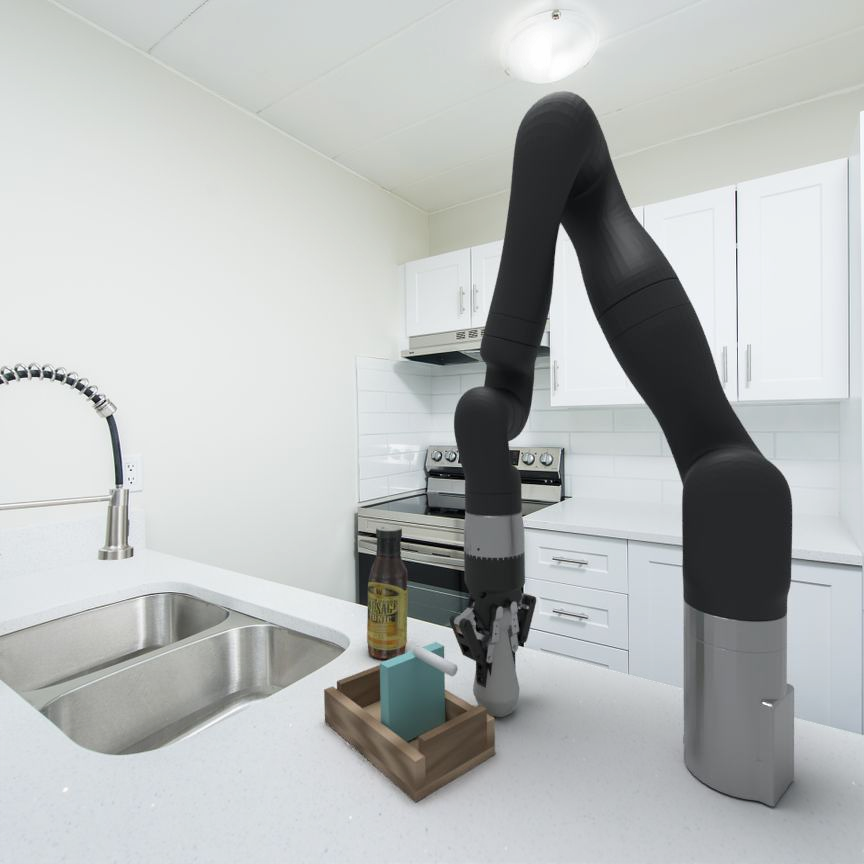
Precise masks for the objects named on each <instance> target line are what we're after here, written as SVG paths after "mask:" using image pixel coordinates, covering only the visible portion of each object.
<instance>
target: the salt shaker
mask: <svg viewBox="0 0 864 864" xmlns="http://www.w3.org/2000/svg"><path fill="white" fill-rule="evenodd" d="M511 623H512V615H511V612H510V611H509V609H507V608H505V607H504V608H503V617H502V619H501V620H499V621H498V624H499V628H500V631H499V641H498V642H497V643H496V644H495V650H494V659H493V661H492V662H493V663H492V671H491V677H490V673H489V669H488V673H487V679H486V680H487V682H486V688H485V687H482V686H480V685H478V684H477V682H476V672H475V675H474V679H473V680H474V681H473V687H472V693H473V696H474V697H475V701H476V702H477V705H478V706H479V705H481V706H483V707H485V708H486V709H487V714H488V715H490V716H492V717H497V718H498V717H499V718H505V717H506V716H507V715H509V714H512V713H513V712H514V710H515V707H516V705H517V702H518V700H519V698H520V684H519V681H518V680H519V679H518V675H517V671H516V670H517V669H515V666H516V664H515V665H514V660H513V655H512V650H511V645H510V640H509V635H508V629H507V628H508V627H509V626H511ZM482 630H483V629H482ZM483 632H485V633H487V634H488V635H489V633H490V632H488V631H485V630H483ZM485 645H486V644H485V642H484V641H483V642H482V649H484V650H485ZM481 680H482V679H481Z"/></svg>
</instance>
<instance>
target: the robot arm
mask: <svg viewBox="0 0 864 864" xmlns="http://www.w3.org/2000/svg"><path fill="white" fill-rule="evenodd" d="M609 150H610V149H609V146H608V143H607V140H606V137H605V135H604V132H603V129H602V127H601V124H600V121H599V119H598V117H597V116H596V114H595V111H594V110H593V108H592V107H591V106H590V105H589V103H588V102H587V101H586V100H585V99H584V98H583V97H582V96H580V95H579V94H578V93H574V92H572V91H564V90H562V91H555V92H551V93H549V94H546V95H545V96H543V97H541V98H539V99H538V100H537V101H536V102H534V103H533V104H532V105H531V107H529V109H528V110H527V111H526V113H525V114H524V116H523V118H522V119H521V121H520V124H519V126H518V129H517V133H516V137H515V144H514V150H513V151H514V152H513V160H512V168H511V169H512V172H511V182H510V183H511V184H510V193H509V202H508V209H507V217H506V225H505V231H504V238H503V244H502V250H501V257H500V263H499V267H498V272H497V275H496V276H497V277H496V281H495V285H494V289H493V293H492V297H491V301H490V306H489V309H488V314H487V317H486V321H485V326H484V330H483V333H482V334H483V335H482V337H481V341H480V347H479V354H480V358H481V360H482V361H483V362H484V363H485V364H486V365H485V367H486V370H485V376H484V377H485V378H484V384H483V385H484V386H475V387H472V388H470V389H468V390H467V391H465V392H464V393H463V394H462V396H460V398H459V400H458V401H457V404H456V406H455V410H454V417H453V432H454V437H455V443H456V446H457V447H456V448H457V452H458V455H459V460H460V461H459V462H460V464H461V468H462V471H463V475H464V504H465V505H464V507H465V508H464V511H465V515H464V523H463V555H464V556H463V562H464V565H463V568H464V583H465V585H466V587H467V589H468V593H469V594H468V599H467V601H466V609H465V610H463V611H462V612H461V614H459V615H457V614H452V615H451V616H450V618H449V624H450V626H451V629H452V630H453V631H452V632H453V633H454V637H455V638H456V641H457V643H458V646H459V648H460V651H461V654H462V656H464V657H465V658H468V659H470V660H473V661H474V662H475V673H476V682H477V684H478V685H480V686H482V687H485V688H486V682H487V680H486V679H487V673H488V669H489V673H490V677H491V671H492V663H493V662H492V661H493V659H494V650H495V644H496V643H497V642H498V641H499V631H500V628H499V624H498V621H499V620H501V619H502V617H503V608H504V607H505V608H507V609H509V611H510V612H511V615H512V623H511V626H509V627H508V628H507V629H508V635H509V640H510V645H511V650H512V655H513V660H514V665H515V669H516V652H517V651H518V649H519V645H520V644H521V643H522V644H525V643H526V642H527V640H528V636H529V634H530V629H531V624H532V621H533V617H534V612H535V608H536V604H537V597H536V596H534V595H532V594H528V593H524V592H523V591H522V588H523V587H524V586H525V584H526V561H525V560H526V559H525V558H526V556H525V553H526V551H525V549H526V547H525V527H524V520H523V519H524V518H523V507H522V506H523V505H522V504H523V503H522V500H523V499H522V492H523V491H522V478H521V473H520V471H519V469H518V468H517V466H515V465H513V464H512V460H511V453H510V444H509V443H510V442H511V441H513V440H514V439H516V438H517V437H519V435H521V433H522V432H523V430H524V429H525V427H526V424H527V422H528V419H529V417H530V412H531V407H532V403H533V396H534V395H533V393H534V392H533V391H534V385H535V384H534V383H535V366H536V360H537V357H538V355H539V351H540V348H541V344H542V341H543V337H544V333H545V329H546V326H547V321H548V318H549V313H550V309H551V303H552V297H553V287H554V275H555V261H556V260H555V259H556V251H557V250H556V249H557V242H558V236H559V231H560V225H561V226H562V228H563V229H564V231H565V233H566V235H567V236H568V238H569V240H570V241H571V244H572V246H573V249H574V251H575V253H576V258H577V261H578V264H579V268H580V269H579V270H580V273H581V277H582V281H583V284H584V285H583V286H584V287H585V291H586V295H587V297H588V301H589V304H590V306H591V309H592V312H593V314H594V316H595V319H596V322H597V323H598V325H599V327H600V329H601V331H602V333H603V336H604V338H605V339H606V341H607V344H608V346H609V348H610V350H611V352H612V354H613V355H614V358H615V359H616V361H617V362H618V364H619V366H620V368H621V369H622V371H623V372H624V374H625V376H626V378H628V380H629V382H630V384H632V386H633V387H634V389H635V391H636V392H637V393H638V395H639V396H640V397H641V399H642V400H643V401H644V403H645V404H646V405H647V407H648V408H649V410H650V411H651V412H652V414H653V416H654V418H655V419H656V421H657V422H658V424H659V427H660V429H661V430H662V432H663V435H664V437H665V440H666V443H667V444H668V447H669V450H670V452H671V455H672V457H673V460H674V463H675V466H676V468H677V471H678V474H679V477H680V480H681V481H680V482H681V483H682V495H681V497H682V498H681V501H682V502H681V519H682V520H681V521H682V522H681V523H682V524H681V529H682V530H681V533H682V537H681V538H682V542H681V543H682V564H681V565H682V566H681V567H682V568H681V569H682V584H683V585H682V587H683V588H682V589H683V591H682V593H683V596H682V597H683V736H682V737H683V738H682V739H683V741H682V742H683V760H684V763H685V765H686V767H687V769H688V770H689V771H690V773H692V775H693V776H695V778H697V780H699V781H700V782H702V783H704V784H705V785H707V786H708V787H710V788H712V789H714V790H716V791H718V792H720V793H723V794H726V795H728V796H731V797H735V798H740V799H743V800H749V801H755V802H756V801H757V802H761V803H763V804H765V805H767V806H769V807H774V806H776V804H777V803H778V801H779V800H780V799H781V797H782V796H783V795H784V793H785V792H786V791H787V789H788V788H789V786H790V785H791V784H792V783H793V781H794V779H795V687H794V685H792V684H790V683H787V682H788V681H787V680H788V674H787V673H788V597H789V592H790V589H791V583H792V561H793V560H792V557H793V554H792V553H793V500H792V492H791V489H790V485H789V483H788V480H787V479H786V477H785V475H784V474H783V473H782V471H781V470H780V468H778V467H777V466H776V465H775V464H774V463H772V462H771V461H770V460H768V459H767V458H766V457H765V455H764V454H763V453H762V452H761V450H760V449H759V448H758V446H757V444H755V442H754V440H753V438H751V437H752V436H751V435H750V434H749V433H748V431H747V430H746V427H745V426H744V424H743V423H742V421H741V420H740V418H739V417H738V415H737V413H736V412H735V410H734V409H733V407H732V405H731V404H730V401H729V400H728V397H727V395H726V393H725V391H724V388H723V386H722V385H723V384H722V382H721V379H720V376H719V373H718V371H717V367H716V363H715V360H714V357H713V354H712V350H711V347H710V345H709V342H708V339H707V336H706V334H705V331H704V329H703V326H702V324H701V321H700V318H699V316H698V314H697V312H696V309H695V307H694V305H693V303H692V301H691V300H690V297H689V296H688V294H687V292H686V290H685V288H684V286H683V284H682V282H681V280H680V278H679V276H678V275H677V273H676V271H675V269H674V268H673V266H672V265H671V263H670V262H669V259H668V258H667V257H666V256H665V254H664V253H663V251H662V249H661V248H660V247H659V245H658V244H657V243H656V242H655V240H654V238H653V237H652V236H651V235H650V233H649V232H647V230H646V229H645V228H644V227H643V225H642V224H641V222H640V221H639V219H638V218H637V217H636V215H635V214H634V212H633V210H632V209H631V206H630V204H629V202H628V200H627V198H626V195H625V193H624V191H623V190H624V189H623V187H622V185H621V183H620V180H619V177H618V175H617V172H616V169H615V166H614V163H613V160H612V158H611V154H610V151H609ZM519 622H521V627H519ZM482 629H483V630H485V631H488V632H490V633H489V635H488V634H487V633H485V632H483V630H482ZM483 641H484V642H485V644H486V645H485V650H484V649H482V642H483ZM516 670H517V669H516ZM481 679H482V680H481Z"/></svg>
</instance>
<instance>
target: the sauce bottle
mask: <svg viewBox="0 0 864 864" xmlns="http://www.w3.org/2000/svg"><path fill="white" fill-rule="evenodd" d="M402 536H403V529H402V527H401V526H398V525H390V524H388V525H386V524H385V525H380V526H377V527H376V530H375V538H376V552H375V553H376V556H375V558H374V562H373V563H372V566H371V568H370V572H369V578H368V583H367V622H366V623H367V624H366V625H367V626H366V627H367V629H366V630H367V631H366V643H367V651H368V654H369V655H370V656H371V657H373V658H375V659H379V660H383V659H385V660H389V659H392V658H394V657H397V656H400V655H402V654H405V653H406V645H407V643H408V596H409V595H408V591H409V590H408V589H409V588H408V569H407V567H406V565H405V563H404V562H403V558H402V556H401V554H402V551H401V539H402Z"/></svg>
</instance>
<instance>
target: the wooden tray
mask: <svg viewBox="0 0 864 864" xmlns="http://www.w3.org/2000/svg"><path fill="white" fill-rule="evenodd" d="M323 692H324V693H323V695H324V696H323V698H324V701H323V702H324V723H326V724H327V725H328V726H329V727H330V728H331V729H332V730H333V731H335V732H336V733H337V734H338V735H339V736H340V737H341V738H343V740H345V741H346V742H347V743H348V744H349V745H351V747H353V749H355V750H356V751H357V752H358V753H359V754H361V755H362V756H363V757H364V758H365V759H366V760H367V761H369V763H371V764H372V765H373V766H375V768H377V769H378V770H379V771H380V772H381V773H383V775H384V776H386V777H387V778H388V779H389V780H390V781H391V782H392V783H394V784H395V785H396V786H397V787H398V788H399V789H400V790H401V791H402V792H403V793H404V794H406V795H407V796H408V797H410V798H411V799H412V801H414V802H415V803H417V802H419V801H421V800H422V799H424V798H425V797H428V796H429V795H430V794H432V793H434V792H436V791H437V790H438V789H440V788H442V787H444V786H446V785H447V784H448V783H449V784H450V783H451V782H452V781H454V780H455V779H457V778H458V777H460V776H462V775H464V774H466V773H467V772H469V771H471V770H472V769H473V768H475V767H476V766H478V765H480V764H482V763H483V762H484V761H486V760H488V759H489V758H491V757H492V756H494V755H496V729H495V728H496V727H495V725H496V721H495V720H496V719H495V717H494V716H490V715H488V714H487V709H486V708H485V707H483V706H481V705H478V706H474V705H473V704H471V703H469V702H468V701H466V700H464V699H462V698H460V697H459V696H457V695H455V694H453V693H452V692H450V691H449V690H447V689H445V723H443V724H441V725H439V726H437V727H435V728H433V729H431V730H429V731H427V732H425V733H423V734H421V735H419V736H417V737H415V738H413V739H411V740H409V741H407V742H406V741H404V740H403V739H402V738H400V737H399V736H398V735H397V734H395V733H394V732H393V731H391V730H390V729H389V728H387V727H386V726H385V725H383V724H382V723H381V697H380V664H379V665H376V666H373V667H371V668H368V669H365V670H363V671H360V672H358V673H355V674H352V675H350V676H346V677H344V678H342V679H339V680H336V687H335V686H334V685H332V686H330V687H327V688H324V689H323Z"/></svg>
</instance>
